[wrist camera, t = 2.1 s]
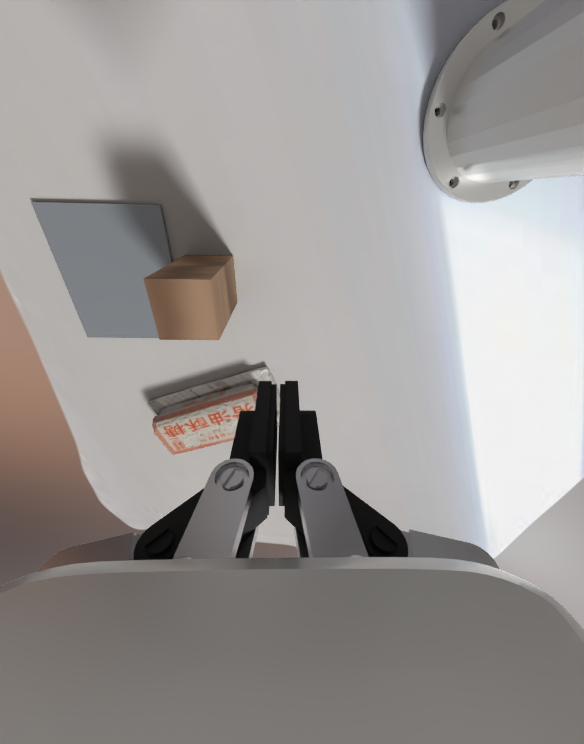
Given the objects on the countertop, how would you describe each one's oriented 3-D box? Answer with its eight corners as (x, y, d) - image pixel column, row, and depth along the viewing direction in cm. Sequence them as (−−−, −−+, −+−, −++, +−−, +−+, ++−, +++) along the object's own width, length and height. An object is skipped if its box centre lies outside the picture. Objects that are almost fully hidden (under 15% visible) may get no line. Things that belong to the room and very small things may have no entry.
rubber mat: (160, 204, 26) (159, 204, 26) (187, 337, 34) (186, 338, 34) (33, 202, 26) (31, 202, 26) (89, 336, 34) (87, 337, 33)
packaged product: (175, 468, 40) (135, 420, 35) (186, 443, 45) (150, 397, 40) (291, 439, 38) (265, 383, 33) (291, 416, 42) (267, 362, 37)
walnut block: (232, 255, 29) (210, 279, 21) (237, 302, 32) (219, 340, 23) (185, 254, 29) (143, 278, 20) (193, 301, 32) (159, 339, 23)
